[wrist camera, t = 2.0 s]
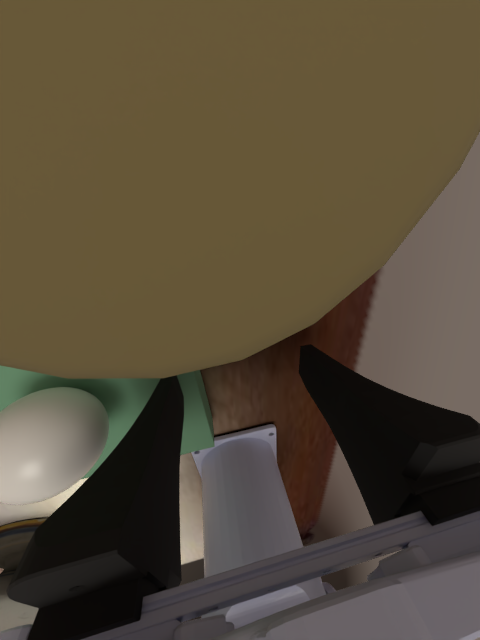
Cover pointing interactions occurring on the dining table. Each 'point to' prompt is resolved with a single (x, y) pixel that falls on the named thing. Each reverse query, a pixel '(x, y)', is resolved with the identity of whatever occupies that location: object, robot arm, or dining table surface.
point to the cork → (214, 168)
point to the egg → (49, 443)
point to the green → (121, 403)
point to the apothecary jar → (6, 552)
